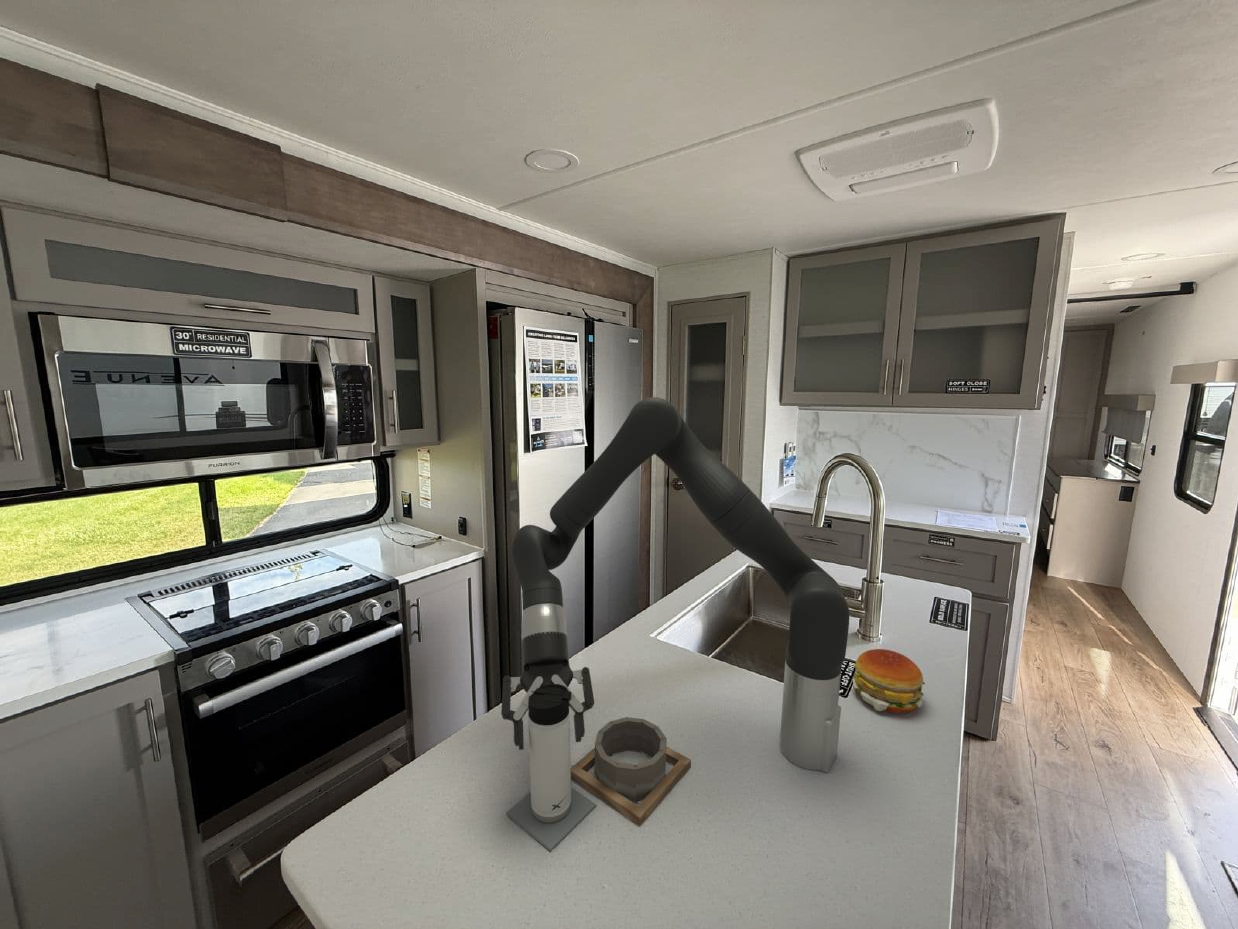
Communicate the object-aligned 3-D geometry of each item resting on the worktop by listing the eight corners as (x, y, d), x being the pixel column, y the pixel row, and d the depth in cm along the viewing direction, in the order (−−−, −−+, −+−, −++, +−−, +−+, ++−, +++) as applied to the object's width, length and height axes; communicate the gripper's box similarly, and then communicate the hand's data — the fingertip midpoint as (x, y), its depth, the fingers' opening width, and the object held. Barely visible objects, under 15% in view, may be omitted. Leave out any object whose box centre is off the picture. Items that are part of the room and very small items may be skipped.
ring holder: (690, 767, 88) (691, 736, 87) (639, 826, 77) (640, 791, 76) (623, 729, 98) (623, 701, 96) (568, 777, 86) (568, 746, 85)
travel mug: (566, 827, 76) (564, 708, 72) (525, 820, 77) (520, 702, 74) (578, 794, 82) (576, 682, 78) (539, 787, 83) (536, 677, 80)
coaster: (596, 806, 80) (596, 804, 80) (550, 852, 73) (550, 849, 72) (552, 775, 86) (552, 773, 86) (505, 814, 79) (505, 812, 79)
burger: (928, 697, 108) (934, 654, 106) (913, 730, 98) (919, 683, 96) (862, 672, 117) (865, 632, 115) (841, 700, 107) (845, 657, 105)
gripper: (500, 634, 81) (500, 749, 71) (588, 625, 83) (599, 735, 74) (502, 647, 87) (503, 755, 78) (584, 639, 89) (594, 742, 80)
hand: (550, 745), depth 76 cm, fingers open, 8 cm apart
